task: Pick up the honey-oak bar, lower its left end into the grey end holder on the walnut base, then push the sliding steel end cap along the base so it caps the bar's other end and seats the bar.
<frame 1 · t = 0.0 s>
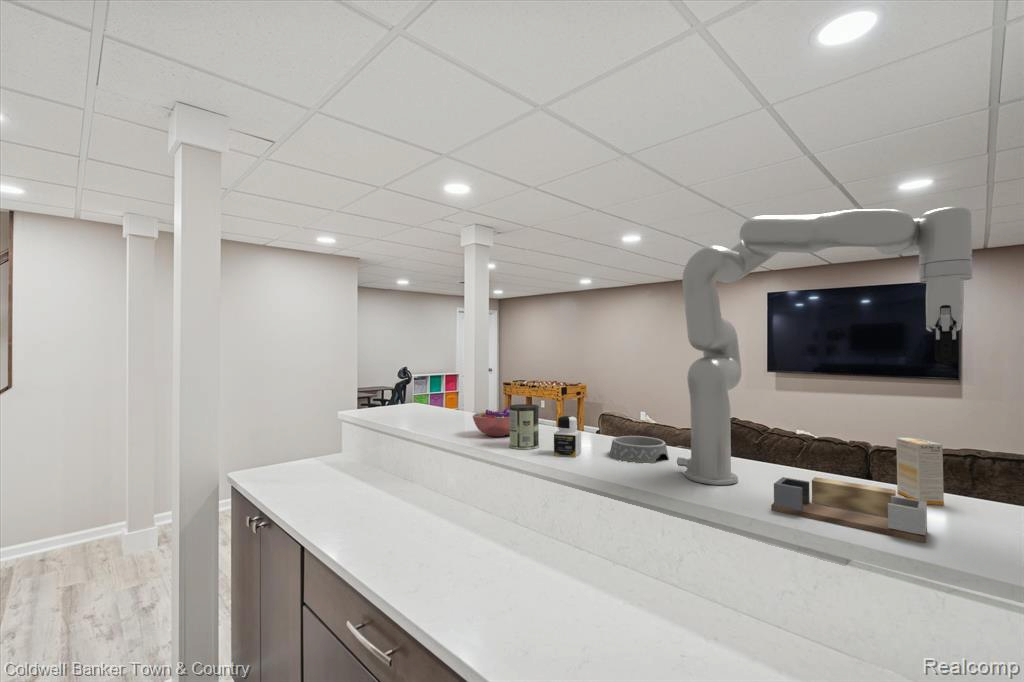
hand: (946, 361, 89), 31 cm above the counter, fingers open, 9 cm apart
medicine bottle: (567, 454, 148), on the counter
dog bowl: (638, 458, 145), on the counter
base board: (844, 519, 91), on the counter
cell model: (498, 436, 180), on the counter
coffee can: (523, 447, 160), on the counter
grey end holder: (781, 506, 98), resting on base board
supplement box: (919, 499, 103), on the counter
slat: (852, 508, 98), on the counter
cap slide: (907, 514, 84), point 3 cm above the counter, slide at 0.0 cm
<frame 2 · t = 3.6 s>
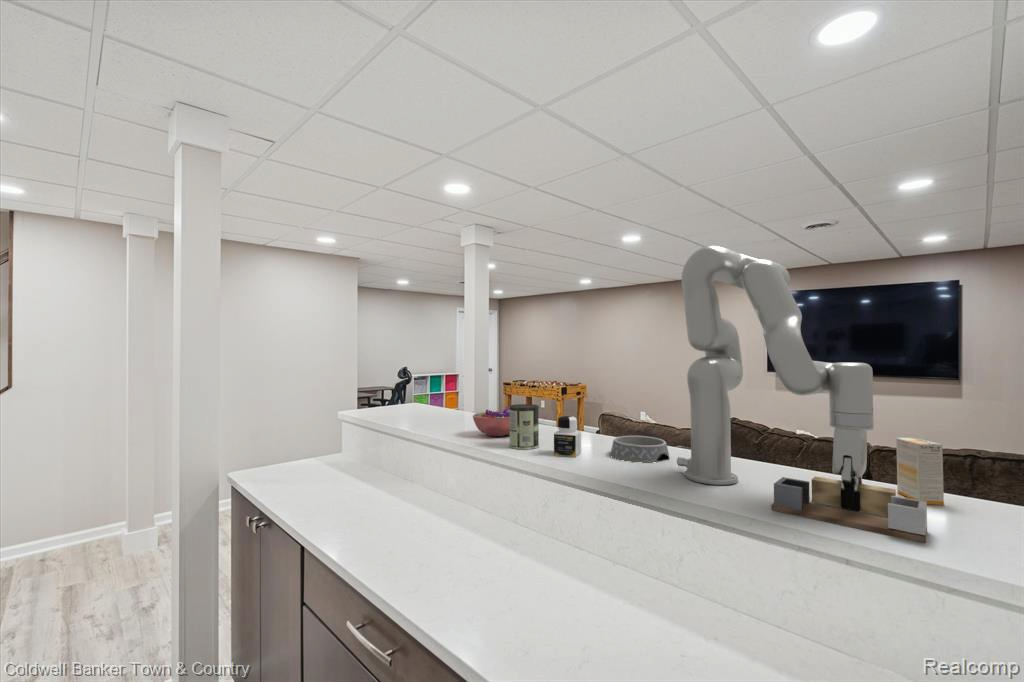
hand: (852, 506, 98), 0 cm above the counter, fingers closed on slat, 3 cm apart
slat: (852, 507, 98), on the counter, touching gripper
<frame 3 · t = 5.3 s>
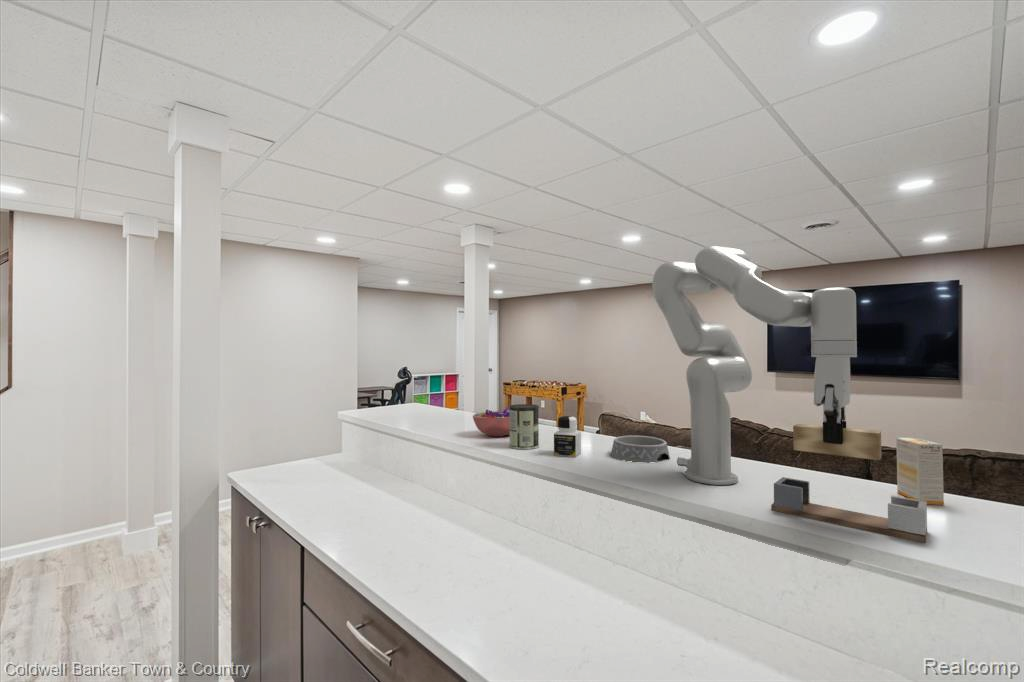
hand: (834, 440, 92), 15 cm above the counter, fingers closed on slat, 3 cm apart
slat: (836, 453, 92), point 13 cm above the counter, touching gripper
everything else where it was.
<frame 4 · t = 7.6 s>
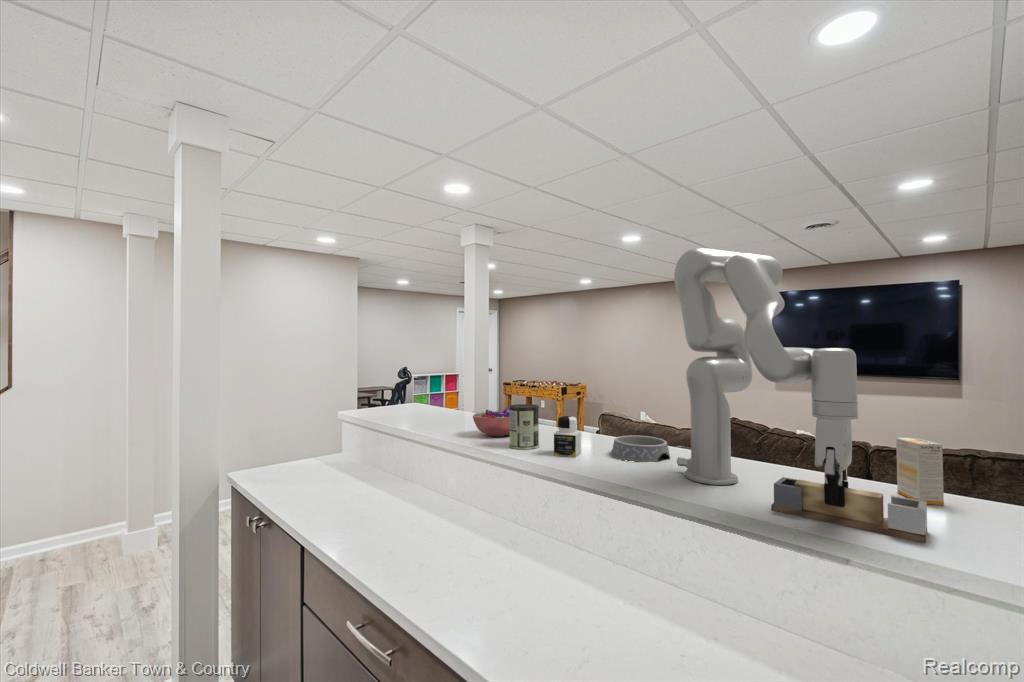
hand: (836, 501, 91), 3 cm above the counter, fingers closed on slat, 3 cm apart
slat: (837, 513, 91), point 1 cm above the counter, touching base board, gripper
when the fingers open (3 cm above the counter, at t = 8.0 s): slat stays where it is, resting on base board.
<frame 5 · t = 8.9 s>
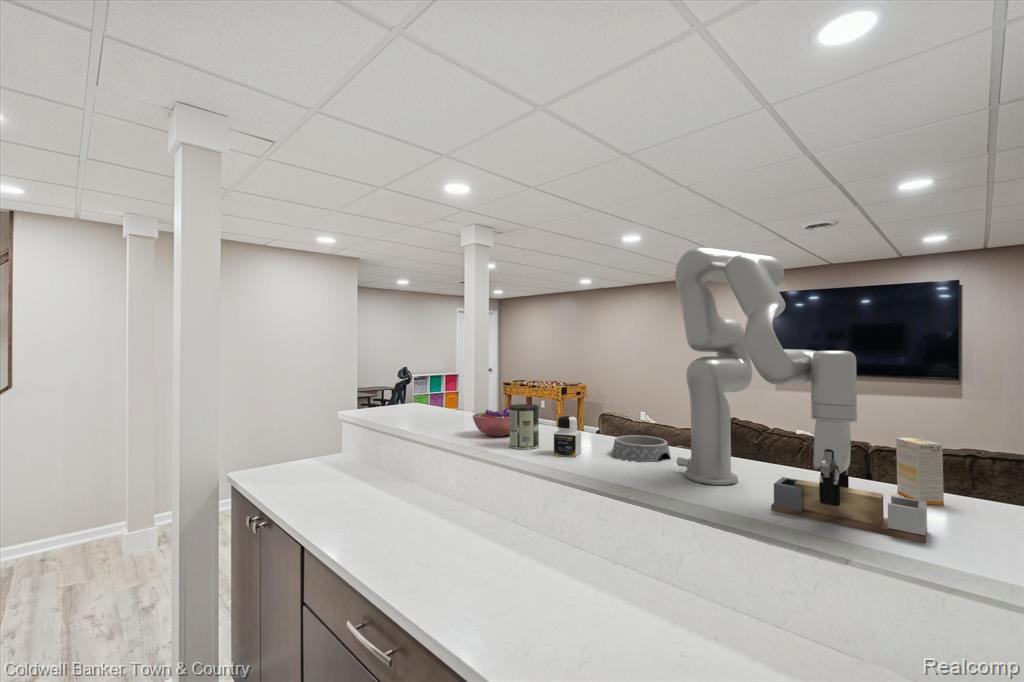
hand: (834, 498, 92), 4 cm above the counter, fingers open, 9 cm apart
slat: (837, 513, 91), point 1 cm above the counter, touching base board
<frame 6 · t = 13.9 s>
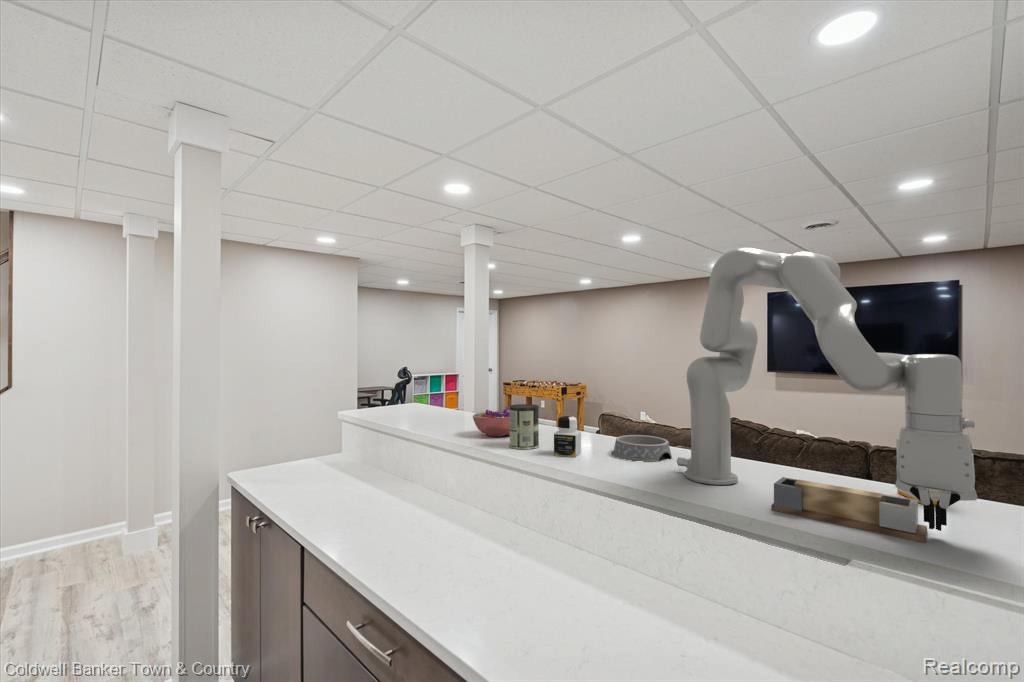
hand: (935, 527, 81), 2 cm above the counter, fingers closed
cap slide: (898, 512, 85), point 3 cm above the counter, slide at 1.2 cm, touching gripper
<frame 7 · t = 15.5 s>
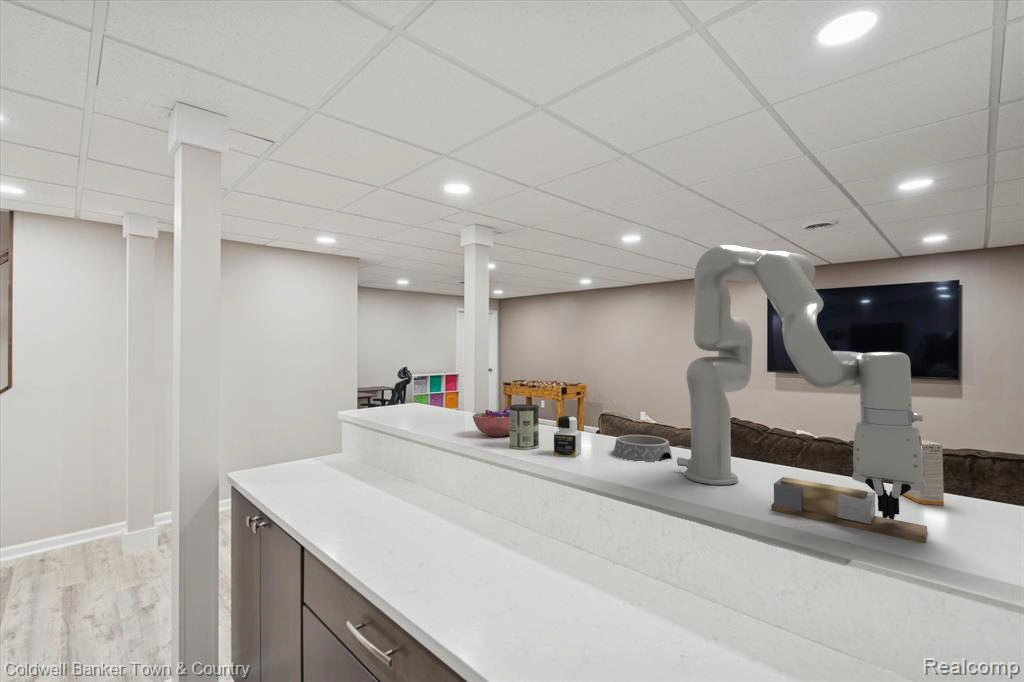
hand: (888, 516, 86), 2 cm above the counter, fingers closed
slat: (822, 510, 93), point 1 cm above the counter, touching base board, grey end holder, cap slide
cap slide: (856, 504, 89), point 3 cm above the counter, slide at 7.5 cm, touching gripper, slat
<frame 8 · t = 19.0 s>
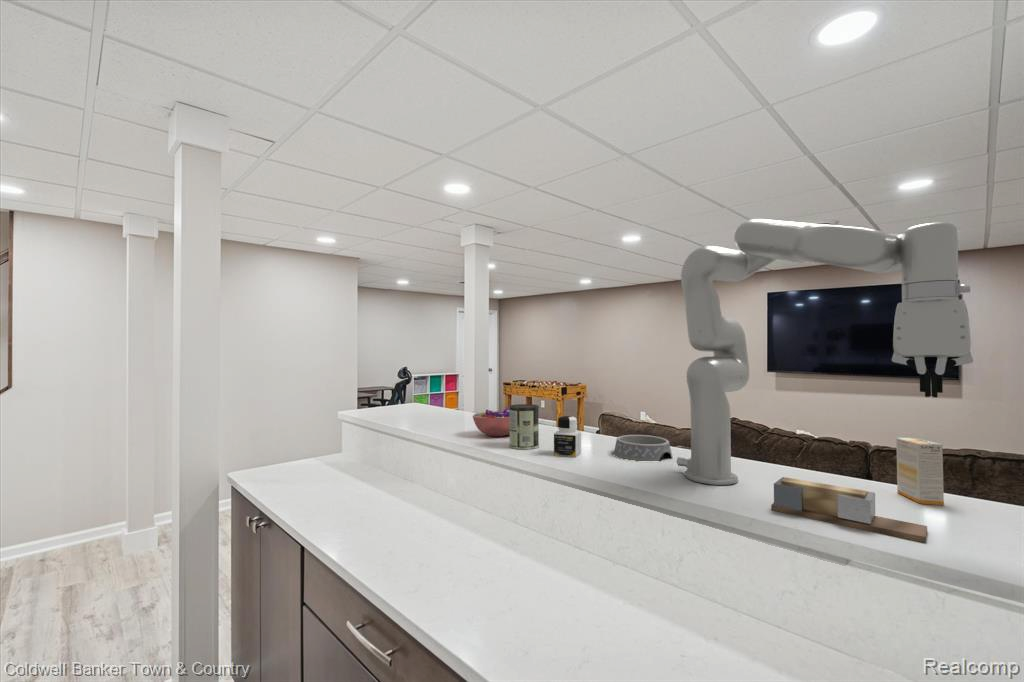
hand: (931, 396, 82), 25 cm above the counter, fingers closed
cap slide: (856, 504, 89), point 3 cm above the counter, slide at 7.5 cm, touching slat
at the end: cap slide slide at 7.5 cm; slat 0.5 cm from the target spot, point 1.0 cm above the counter; slat tilted 0° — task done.
